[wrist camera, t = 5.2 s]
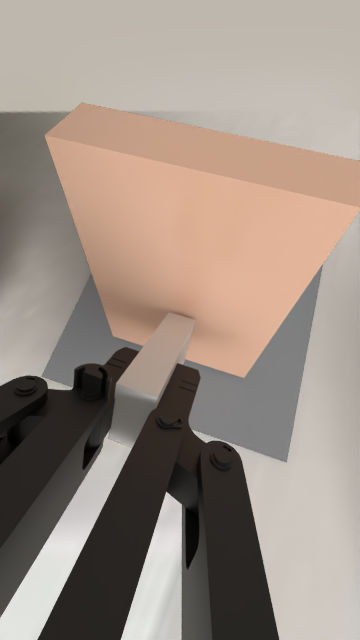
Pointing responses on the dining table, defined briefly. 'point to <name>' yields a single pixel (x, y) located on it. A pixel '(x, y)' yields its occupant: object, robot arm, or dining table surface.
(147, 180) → the peach rectangular block
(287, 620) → the dining table surface
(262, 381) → the mat
